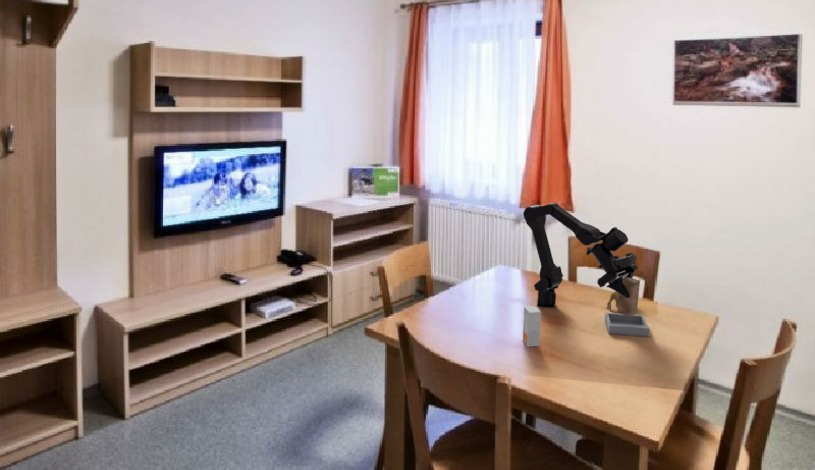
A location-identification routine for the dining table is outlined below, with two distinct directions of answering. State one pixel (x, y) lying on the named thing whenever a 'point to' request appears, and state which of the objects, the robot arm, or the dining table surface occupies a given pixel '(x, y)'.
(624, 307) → the walnut block
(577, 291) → the dining table surface
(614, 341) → the dining table surface
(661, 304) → the dining table surface
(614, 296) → the lion figurine
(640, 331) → the tray
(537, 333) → the skincare box
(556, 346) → the dining table surface
